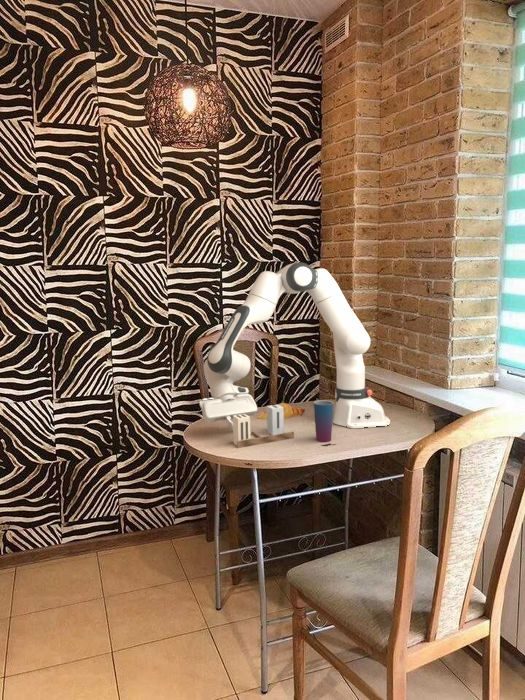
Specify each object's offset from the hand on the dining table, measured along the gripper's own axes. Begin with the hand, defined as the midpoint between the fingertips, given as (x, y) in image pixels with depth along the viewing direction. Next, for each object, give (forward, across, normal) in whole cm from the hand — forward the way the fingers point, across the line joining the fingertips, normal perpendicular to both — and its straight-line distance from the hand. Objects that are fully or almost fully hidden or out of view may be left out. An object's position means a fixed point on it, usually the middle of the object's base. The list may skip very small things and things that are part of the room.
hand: (236, 428), depth 197 cm
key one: (+3, +16, +4) cm, 17 cm away
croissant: (-10, +30, +19) cm, 37 cm away
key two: (+6, 0, 0) cm, 7 cm away
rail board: (+5, +8, +3) cm, 10 cm away
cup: (+15, +27, -6) cm, 31 cm away
